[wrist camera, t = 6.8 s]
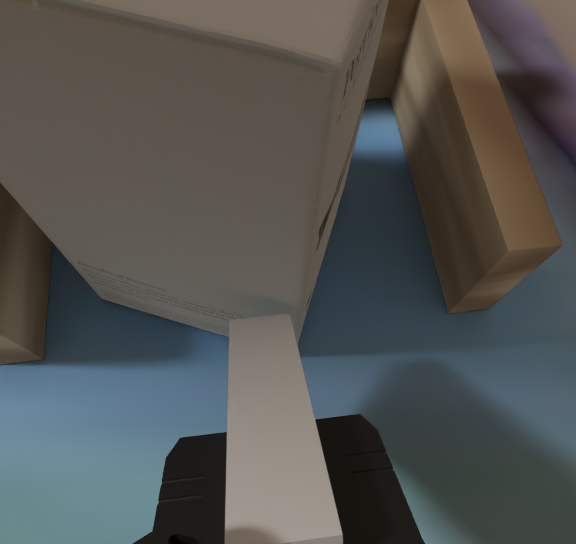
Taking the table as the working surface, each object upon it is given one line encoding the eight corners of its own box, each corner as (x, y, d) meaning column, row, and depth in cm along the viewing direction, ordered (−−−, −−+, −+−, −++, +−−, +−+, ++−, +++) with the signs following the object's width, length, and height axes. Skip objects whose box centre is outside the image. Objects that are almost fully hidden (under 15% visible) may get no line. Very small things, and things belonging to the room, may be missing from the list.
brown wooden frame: (-3, 364, 17) (-147, 297, 11) (27, 99, 21) (-64, -45, 16) (488, 308, 18) (588, 222, 12) (415, 69, 22) (463, -74, 17)
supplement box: (297, 363, 17) (343, 79, 5) (96, 300, 18) (-247, -67, 6) (350, 187, 20) (456, -242, 8) (176, 140, 21) (49, -314, 9)
